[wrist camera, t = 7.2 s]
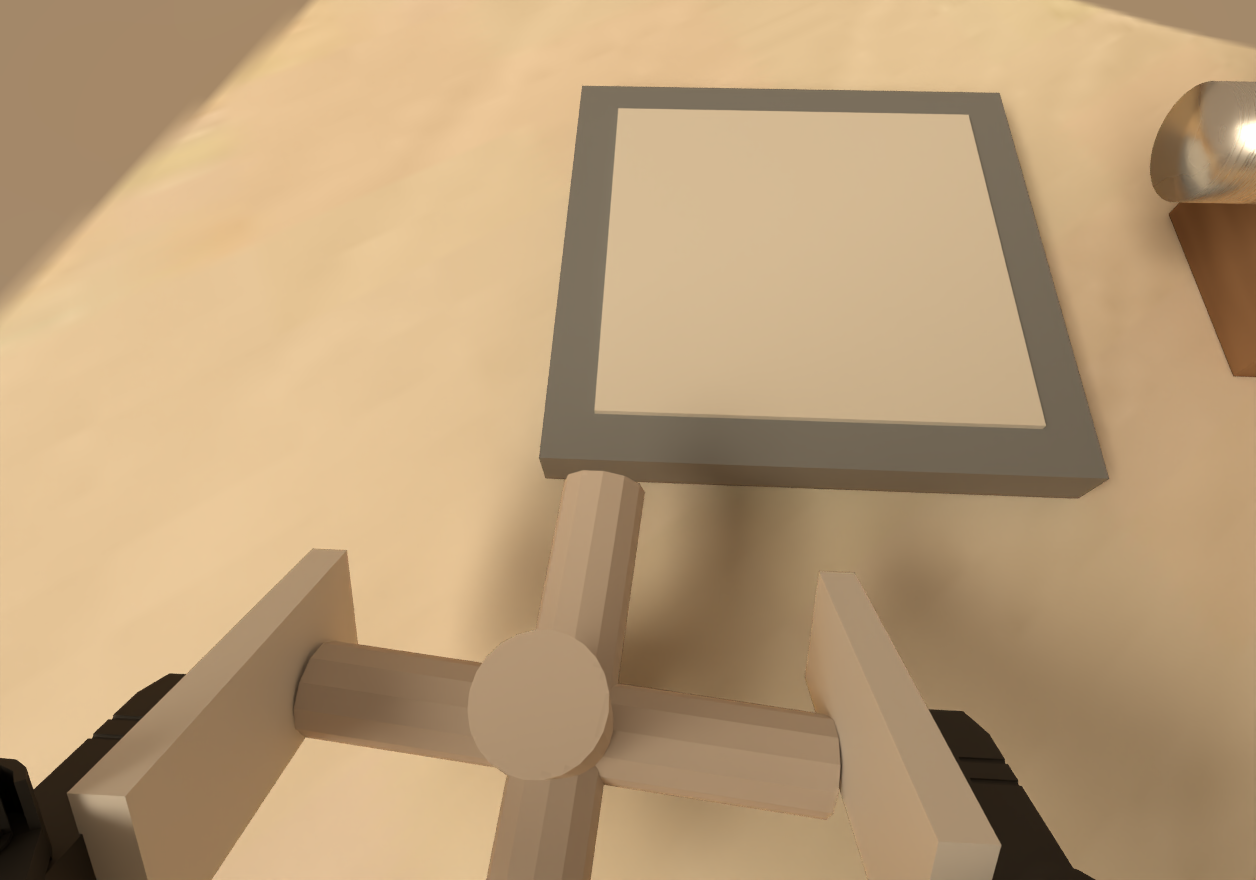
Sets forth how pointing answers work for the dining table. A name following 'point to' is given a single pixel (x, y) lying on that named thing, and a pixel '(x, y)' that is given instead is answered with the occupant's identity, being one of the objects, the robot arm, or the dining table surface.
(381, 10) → the dining table surface
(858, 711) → the robot arm
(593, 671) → the pipe connector
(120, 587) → the dining table surface
